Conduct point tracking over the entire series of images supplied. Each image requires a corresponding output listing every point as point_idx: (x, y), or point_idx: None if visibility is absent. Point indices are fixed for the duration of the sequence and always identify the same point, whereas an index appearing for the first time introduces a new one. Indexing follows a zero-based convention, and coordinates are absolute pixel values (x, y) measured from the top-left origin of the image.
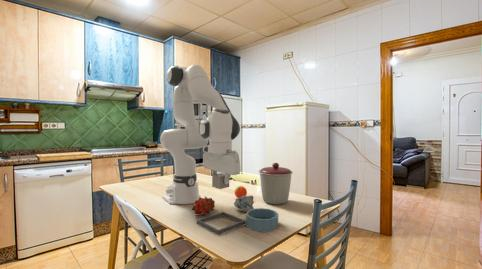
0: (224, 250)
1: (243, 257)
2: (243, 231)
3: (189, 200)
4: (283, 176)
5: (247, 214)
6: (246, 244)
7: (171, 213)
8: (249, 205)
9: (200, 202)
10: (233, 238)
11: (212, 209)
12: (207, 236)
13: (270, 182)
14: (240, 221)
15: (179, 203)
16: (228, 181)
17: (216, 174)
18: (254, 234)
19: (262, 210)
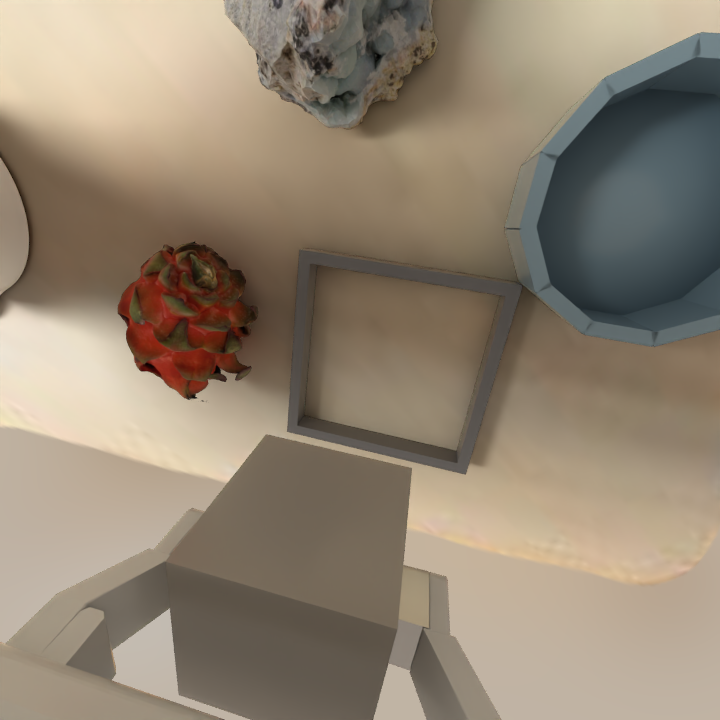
0: (573, 544)
1: (679, 555)
2: (557, 369)
3: (5, 238)
4: None
5: (558, 301)
6: (643, 471)
7: (114, 396)
8: (396, 2)
9: (184, 376)
10: (550, 454)
11: (242, 292)
12: (431, 490)
13: None
14: (500, 319)
15: (8, 285)
16: (446, 599)
17: (202, 666)
18: (637, 366)
19: (621, 92)
